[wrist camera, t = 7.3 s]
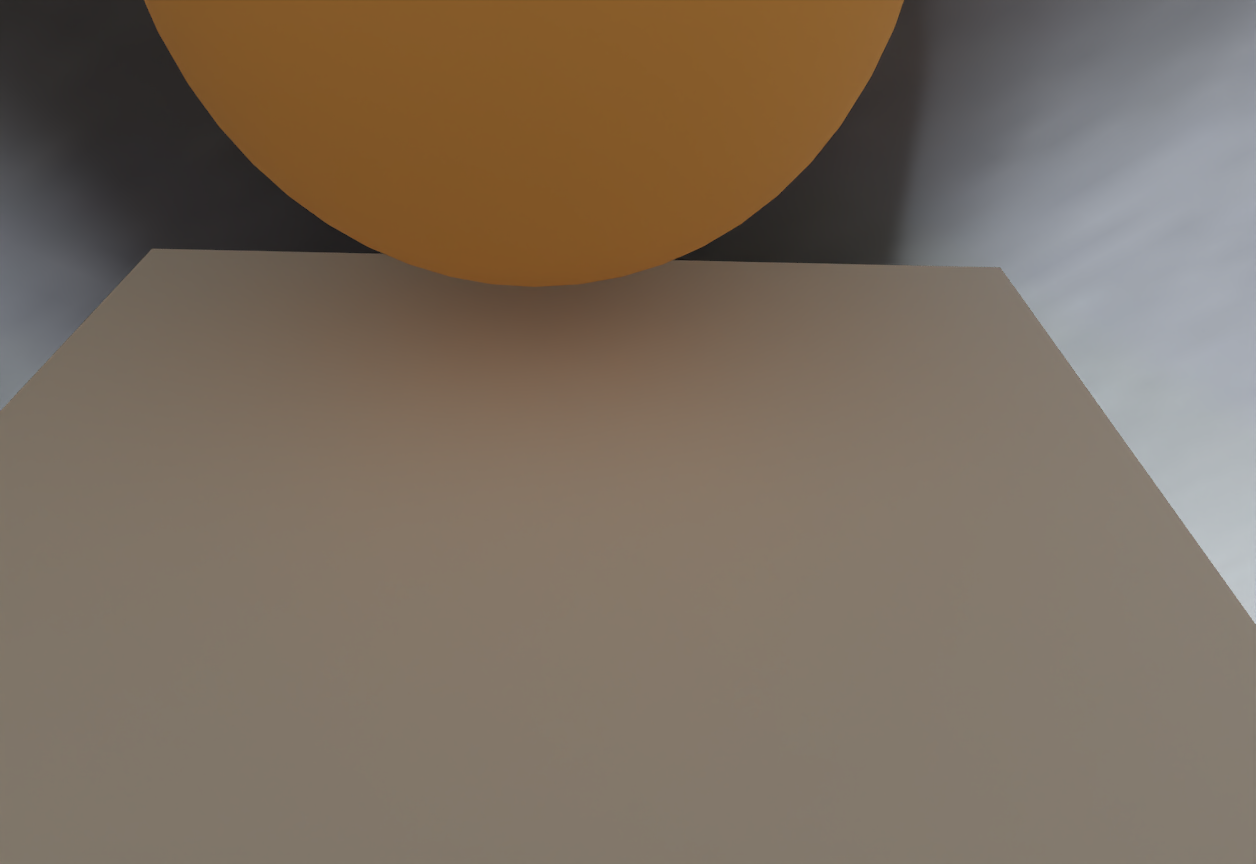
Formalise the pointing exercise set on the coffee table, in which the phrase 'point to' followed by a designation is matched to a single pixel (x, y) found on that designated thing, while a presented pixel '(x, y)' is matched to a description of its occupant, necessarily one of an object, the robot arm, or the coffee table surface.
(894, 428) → the cream cuboid
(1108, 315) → the coffee table surface
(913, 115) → the coffee table surface
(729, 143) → the ball
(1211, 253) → the coffee table surface
